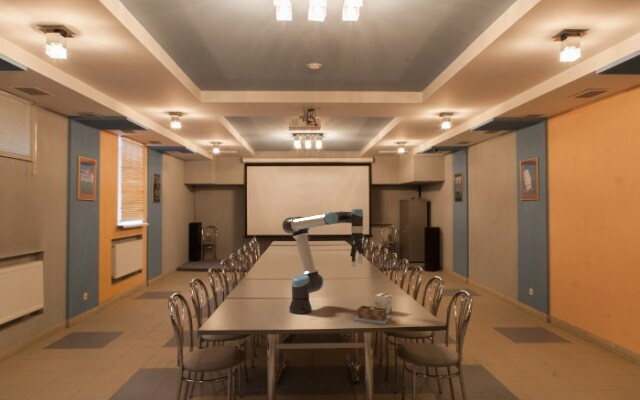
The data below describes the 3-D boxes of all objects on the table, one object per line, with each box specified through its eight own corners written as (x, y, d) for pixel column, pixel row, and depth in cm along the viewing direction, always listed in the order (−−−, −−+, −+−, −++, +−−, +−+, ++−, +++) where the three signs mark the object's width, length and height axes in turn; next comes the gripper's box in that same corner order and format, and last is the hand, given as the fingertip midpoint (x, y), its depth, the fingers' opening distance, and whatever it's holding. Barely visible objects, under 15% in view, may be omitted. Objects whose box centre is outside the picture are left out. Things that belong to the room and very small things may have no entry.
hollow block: (386, 317, 267) (386, 308, 267) (383, 320, 260) (383, 311, 260) (361, 314, 273) (362, 305, 273) (358, 318, 266) (358, 308, 266)
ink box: (381, 309, 290) (381, 290, 290) (392, 312, 285) (392, 292, 285) (374, 312, 283) (374, 292, 283) (385, 314, 278) (385, 294, 278)
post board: (353, 320, 264) (353, 309, 264) (360, 315, 277) (360, 304, 277) (385, 324, 256) (385, 312, 256) (390, 318, 269) (390, 307, 269)
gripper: (356, 234, 263) (356, 268, 264) (368, 231, 286) (368, 262, 286) (345, 233, 266) (345, 267, 266) (357, 231, 289) (357, 262, 289)
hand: (357, 265), depth 276 cm, fingers open, 13 cm apart
